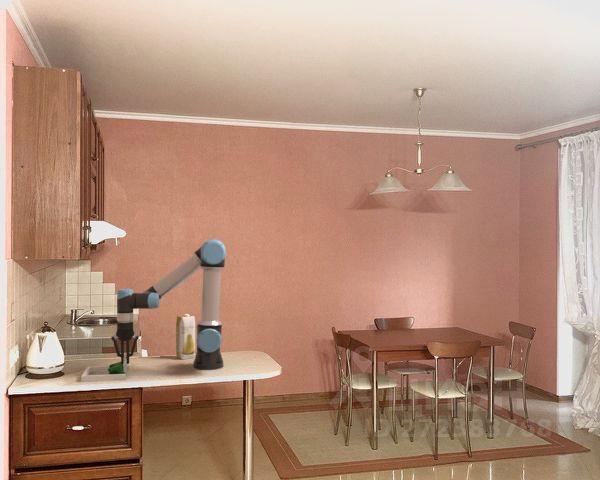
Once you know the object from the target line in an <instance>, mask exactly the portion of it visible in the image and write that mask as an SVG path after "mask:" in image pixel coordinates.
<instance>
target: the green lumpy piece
mask: <svg viewBox="0 0 600 480" xmlns="http://www.w3.org/2000/svg"><path fill="white" fill-rule="evenodd" d="M108 366H109V367H110V368H108V373H109V375H110V374H126V372H124V364H121V361H118V362H114V363H111V364H109V365H108Z"/></svg>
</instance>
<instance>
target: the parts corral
mask: <svg viewBox="0 0 600 480" xmlns="http://www.w3.org/2000/svg"><path fill="white" fill-rule="evenodd" d="M108 368H110V367H109V365H97V366H96V365H94V366H87V367H86V369H84V371H83V373H82V375H81V377H80V378H81V379H80V381H81V383H87V382H106V381H107V382H109V381H110V382H111V381H112V380H114V381H126V380H127V373H125V374H110V373H109V372H108ZM129 370H130V365H129V364H127V371H126V372H129ZM102 372H103V373H104V372H105V373H107V372H108V373H109V374H91V373H102Z"/></svg>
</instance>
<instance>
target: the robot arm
mask: <svg viewBox="0 0 600 480" xmlns="http://www.w3.org/2000/svg"><path fill="white" fill-rule="evenodd" d="M226 255H227V249H226V246H225V244H224V243H223V242H222V241H221V240H219V239H214V238H213V239H211V238H210V239H208V240H205V242H203V244H202V245H201V246H199V248H198V249H196V251H194V252H193V255H192V256H190V257H189V258H188V259H186V260H185V261H184V262H182V263H181V264H180V265H178V266H177V267H175V268H174V269H173V270H172V271H170V272H169V273H168V274H166V275H165V276H164V277H162V278H161V279H160V280H158V281H157V282H156V283H154V284H152V285H151V286H150V287H149V288H148V289H145V290H144V291H143V292H135V291H134V289H133V288H120V289H118V290H117V291H116V321H117V322H116V333H115V334H114V335H112V336H111V337H110V338H111V340H112V341H113V345H114V349H115V353H116V356H117V357H119V358H120V362H121V364H123V365H124V372H125V373H126V372H128V371H127V365H129V364H130V357H133V355H134V353H135V352H134V351H135V348H136V345H137V341H138V339H139V338H140V335H138V334H135V331H134V310H137V309H138V310H139V309H140V310H141V309H142V310H143V309H146V310H147V309H150V310H153V309H158V308H159V307H160V300H161V298H163V297H165V296H166V295H167V294H169V293H170V292H171V291H172V290H174V289H175V288H177V287H179V285H181V284H182V283H183V282H185V281H187V280H188V279H189V278H190V277H192V276H193V275H195V273H197V272H198V271H200V270H201V269H202V288H201V289H202V290H201V292H202V296H201V310H200V311H201V314H200V320H199V321H198V322H196V323H197V324H196V352H195V357H194V358H193V359H194V360H193V368H194V369H197V370H218V369H221V368H223V367H224V360H223V357H222V354H221V346H222V342H223V338H222V332H223V331H222V330H223V327H222V326H223V324H222V322H221V321H220V306H221V305H220V304H221V303H220V302H221V286H222V285H221V284H222V283H221V280H222V279H221V278H222V270H224V269H225V266H226V265H225V262H226ZM117 339H118V340H119V341H120V348H119V344H118V341H117ZM132 339H133V342H132V347H131V350H130V341H131V340H132ZM125 342H126V345H125ZM125 346H126V351H125ZM125 352H126V353H125ZM125 354H126V355H125Z"/></svg>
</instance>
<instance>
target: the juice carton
mask: <svg viewBox="0 0 600 480" xmlns="http://www.w3.org/2000/svg"><path fill="white" fill-rule="evenodd" d="M175 356H176V358H177V359H179V360H190V359H195V356H196V317H195V315H192V314H191V315H190V314H188V313H185V314H184V315H177V316H176V319H175Z"/></svg>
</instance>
